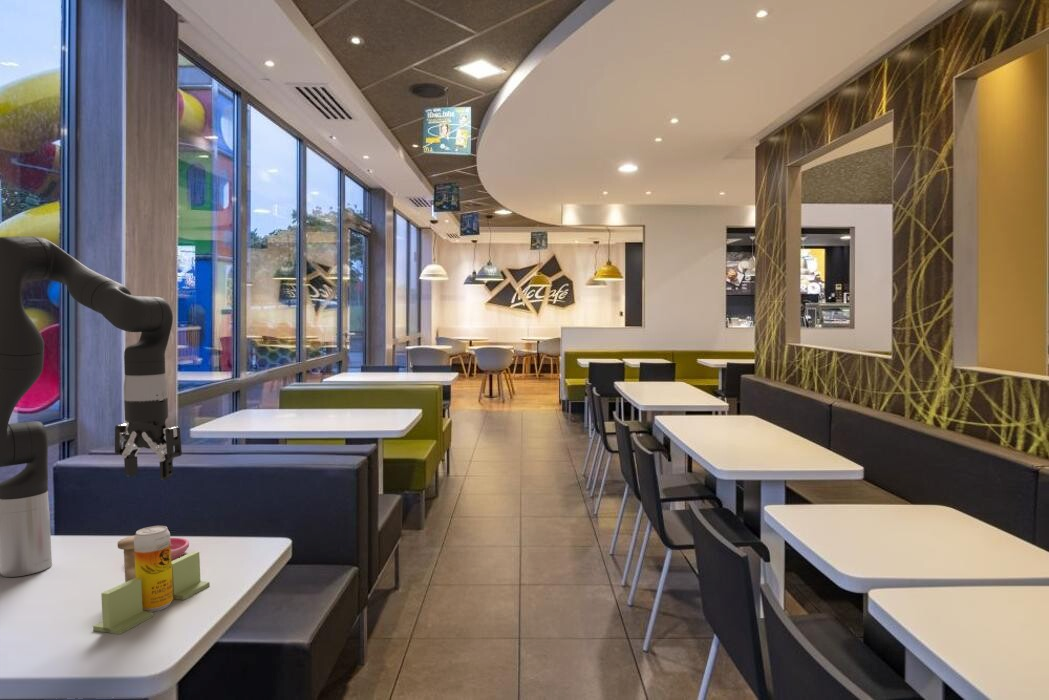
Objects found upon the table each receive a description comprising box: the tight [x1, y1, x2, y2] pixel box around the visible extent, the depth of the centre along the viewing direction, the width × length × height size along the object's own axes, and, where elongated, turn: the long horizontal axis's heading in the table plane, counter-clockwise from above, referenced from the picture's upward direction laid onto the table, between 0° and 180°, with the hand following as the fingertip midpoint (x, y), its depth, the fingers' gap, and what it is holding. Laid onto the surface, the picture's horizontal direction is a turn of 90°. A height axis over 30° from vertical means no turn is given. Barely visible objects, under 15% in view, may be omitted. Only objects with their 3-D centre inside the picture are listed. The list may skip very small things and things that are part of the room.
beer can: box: [134, 525, 174, 613], centre depth 126 cm, size 6×6×15 cm
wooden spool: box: [117, 535, 136, 583], centre depth 133 cm, size 8×8×11 cm
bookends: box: [92, 550, 211, 635], centre depth 126 cm, size 6×22×7 cm, turn 164°
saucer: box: [170, 537, 190, 561], centre depth 153 cm, size 12×12×3 cm
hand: (148, 477), depth 131 cm, fingers open, 8 cm apart
